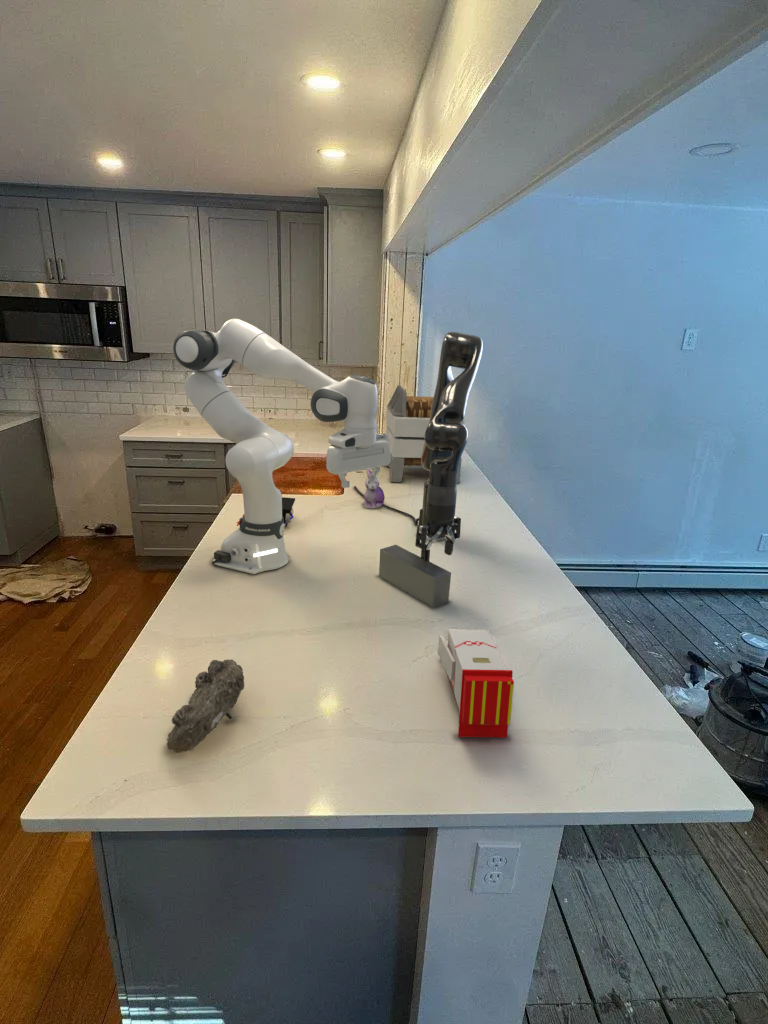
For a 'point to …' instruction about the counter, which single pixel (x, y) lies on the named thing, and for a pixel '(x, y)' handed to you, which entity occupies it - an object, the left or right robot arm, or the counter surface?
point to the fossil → (206, 705)
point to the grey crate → (407, 431)
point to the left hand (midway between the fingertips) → (358, 484)
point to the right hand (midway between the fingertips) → (436, 557)
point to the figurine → (373, 493)
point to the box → (415, 575)
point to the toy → (478, 682)
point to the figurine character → (287, 509)
